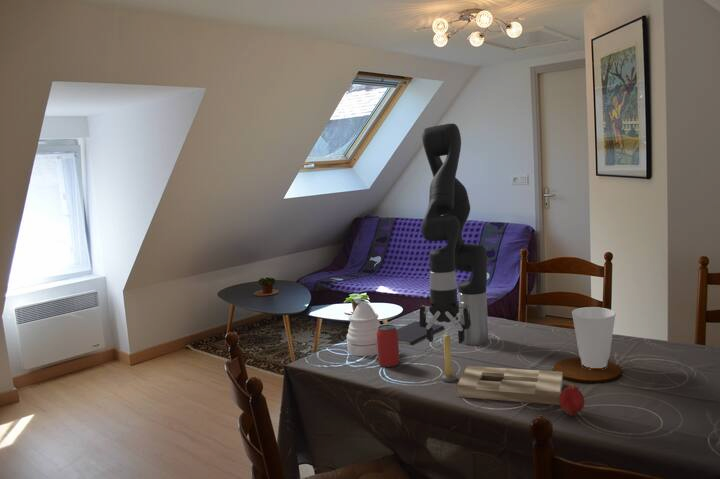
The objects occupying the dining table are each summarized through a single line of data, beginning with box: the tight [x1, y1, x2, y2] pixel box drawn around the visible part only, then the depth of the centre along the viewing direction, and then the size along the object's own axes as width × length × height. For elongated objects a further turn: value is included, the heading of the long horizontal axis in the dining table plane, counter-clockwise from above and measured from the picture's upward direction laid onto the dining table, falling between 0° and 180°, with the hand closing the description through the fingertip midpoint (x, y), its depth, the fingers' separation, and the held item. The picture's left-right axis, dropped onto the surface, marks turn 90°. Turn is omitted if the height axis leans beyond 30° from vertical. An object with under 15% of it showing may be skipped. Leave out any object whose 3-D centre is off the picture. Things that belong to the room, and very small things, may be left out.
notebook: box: [396, 321, 445, 346], centre depth 221 cm, size 13×2×21 cm
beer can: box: [377, 324, 400, 368], centre depth 191 cm, size 7×7×12 cm
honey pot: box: [346, 296, 382, 357], centre depth 206 cm, size 13×13×18 cm
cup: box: [571, 306, 616, 368], centre depth 178 cm, size 12×12×16 cm
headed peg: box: [440, 334, 457, 383], centre depth 175 cm, size 4×4×13 cm
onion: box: [559, 383, 585, 417], centre depth 148 cm, size 6×6×8 cm
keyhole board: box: [456, 365, 564, 406], centre depth 165 cm, size 14×26×3 cm, turn 69°
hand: (445, 342), depth 175 cm, fingers open, 8 cm apart
